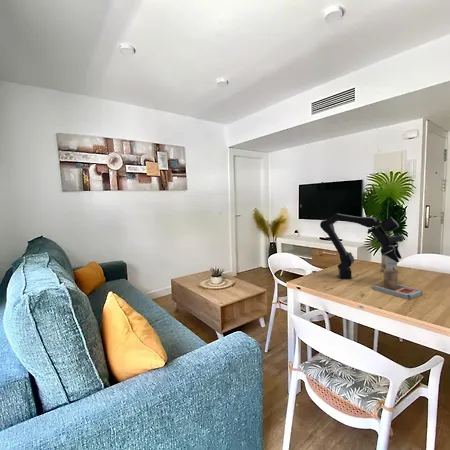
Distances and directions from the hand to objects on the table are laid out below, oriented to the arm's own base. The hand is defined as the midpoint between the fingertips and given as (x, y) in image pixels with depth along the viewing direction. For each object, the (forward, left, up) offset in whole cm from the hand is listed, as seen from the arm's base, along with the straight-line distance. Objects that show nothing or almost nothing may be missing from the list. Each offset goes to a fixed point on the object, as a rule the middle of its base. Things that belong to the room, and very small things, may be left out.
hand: (399, 260), depth 137 cm
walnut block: (-8, -6, -15) cm, 18 cm away
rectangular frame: (-3, -12, -15) cm, 19 cm away
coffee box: (+8, +28, -15) cm, 33 cm away
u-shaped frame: (-6, -8, -15) cm, 18 cm away
